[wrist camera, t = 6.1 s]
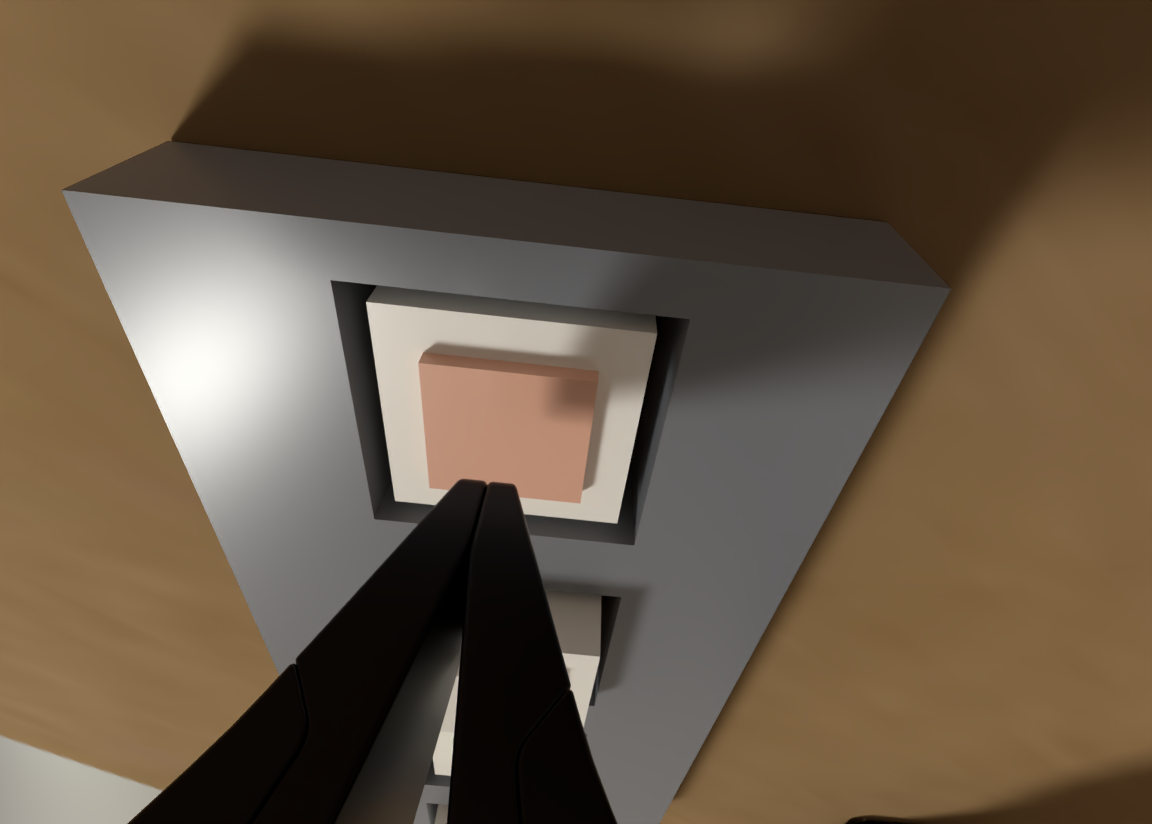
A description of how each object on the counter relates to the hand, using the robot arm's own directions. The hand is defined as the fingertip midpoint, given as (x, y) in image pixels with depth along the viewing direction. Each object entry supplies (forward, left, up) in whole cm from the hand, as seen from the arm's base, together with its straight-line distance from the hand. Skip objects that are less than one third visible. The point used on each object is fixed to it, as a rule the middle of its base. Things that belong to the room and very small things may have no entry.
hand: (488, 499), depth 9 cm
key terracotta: (0, 0, -4) cm, 4 cm away
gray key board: (0, +11, -4) cm, 11 cm away
